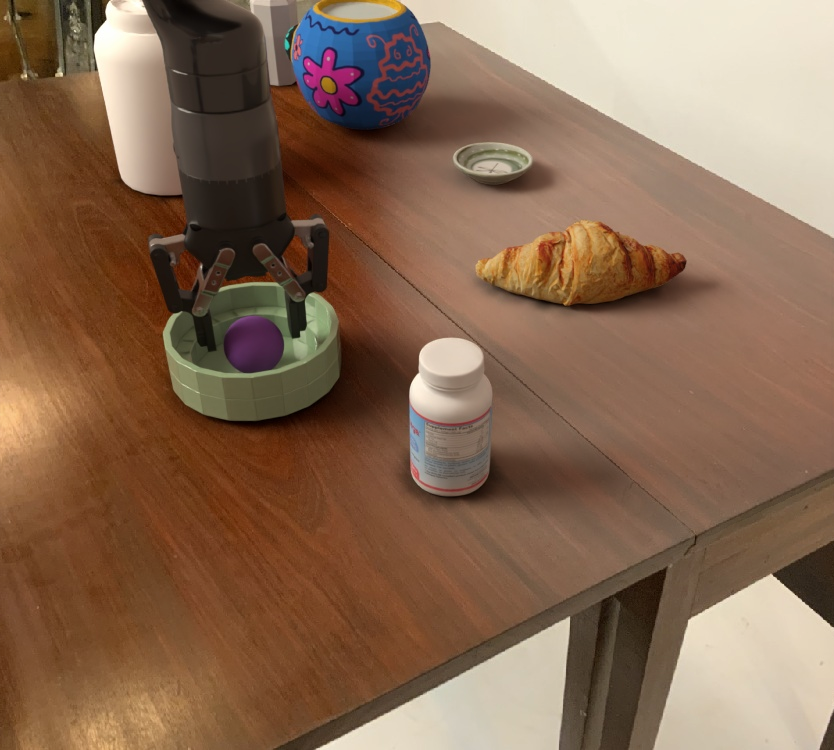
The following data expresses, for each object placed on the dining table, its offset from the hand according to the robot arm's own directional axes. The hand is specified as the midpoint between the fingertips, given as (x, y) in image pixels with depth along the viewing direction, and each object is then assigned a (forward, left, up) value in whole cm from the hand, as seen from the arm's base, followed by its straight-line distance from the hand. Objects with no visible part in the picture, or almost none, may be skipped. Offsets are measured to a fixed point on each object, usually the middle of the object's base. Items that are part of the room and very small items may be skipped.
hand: (253, 339), depth 82 cm
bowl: (0, 0, -4) cm, 4 cm away
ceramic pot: (+22, +52, -4) cm, 57 cm away
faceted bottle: (+14, +70, -4) cm, 71 cm away
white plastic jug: (-3, +42, -4) cm, 42 cm away
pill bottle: (+12, -17, -4) cm, 21 cm away
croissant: (+33, +6, -4) cm, 34 cm away
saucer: (+33, +32, -4) cm, 46 cm away
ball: (0, 0, -1) cm, 1 cm away
